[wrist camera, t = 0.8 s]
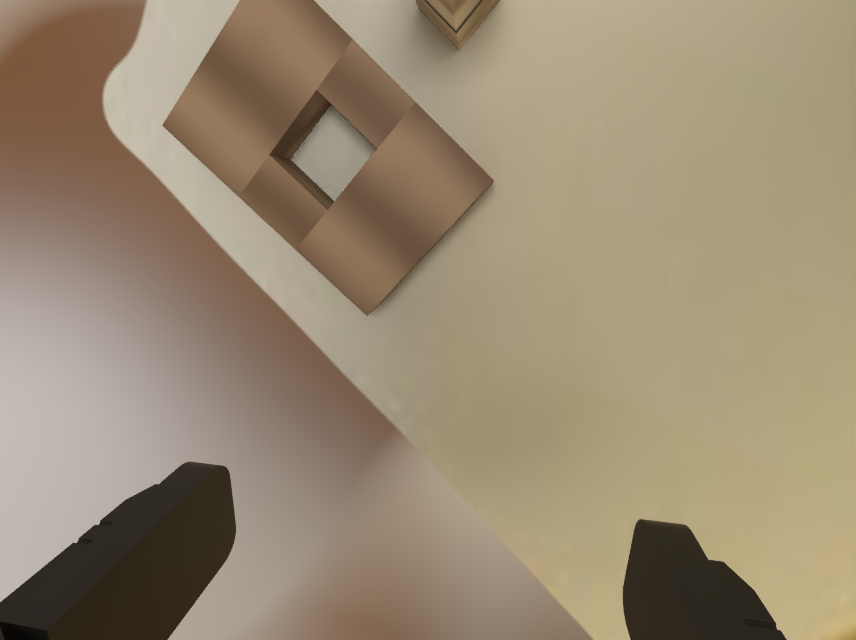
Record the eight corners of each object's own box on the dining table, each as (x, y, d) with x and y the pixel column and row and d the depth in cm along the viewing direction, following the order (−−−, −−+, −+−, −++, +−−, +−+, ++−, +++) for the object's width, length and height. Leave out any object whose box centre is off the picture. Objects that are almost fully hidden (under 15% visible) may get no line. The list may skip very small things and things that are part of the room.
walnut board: (291, -20, 28) (268, -45, 25) (493, 182, 29) (493, 180, 26) (192, 132, 31) (162, 125, 28) (378, 305, 32) (367, 315, 30)
